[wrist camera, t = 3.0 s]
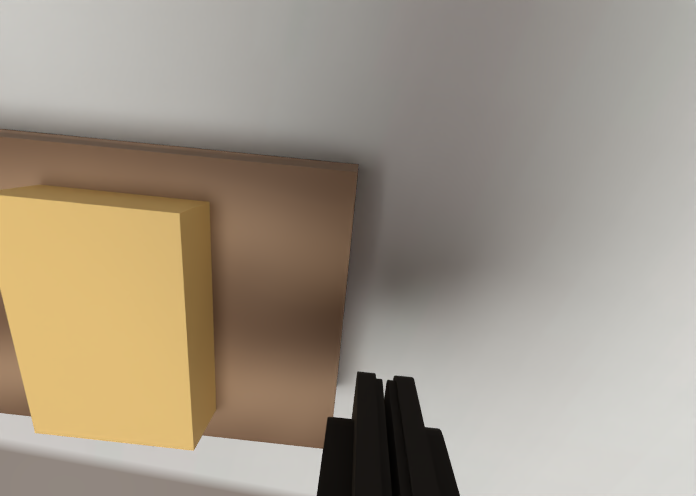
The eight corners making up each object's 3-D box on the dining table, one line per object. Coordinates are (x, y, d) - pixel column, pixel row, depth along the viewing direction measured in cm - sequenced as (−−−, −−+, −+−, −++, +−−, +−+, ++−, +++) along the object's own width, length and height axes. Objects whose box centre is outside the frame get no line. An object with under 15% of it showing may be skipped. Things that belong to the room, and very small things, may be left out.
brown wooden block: (-81, 120, 15) (-229, 113, 11) (358, 164, 15) (357, 171, 11) (-18, 347, 19) (-114, 400, 15) (336, 386, 19) (329, 449, 15)
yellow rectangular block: (39, 184, 12) (-24, 192, 10) (209, 201, 12) (179, 213, 10) (78, 394, 14) (35, 433, 13) (216, 409, 14) (193, 450, 12)
